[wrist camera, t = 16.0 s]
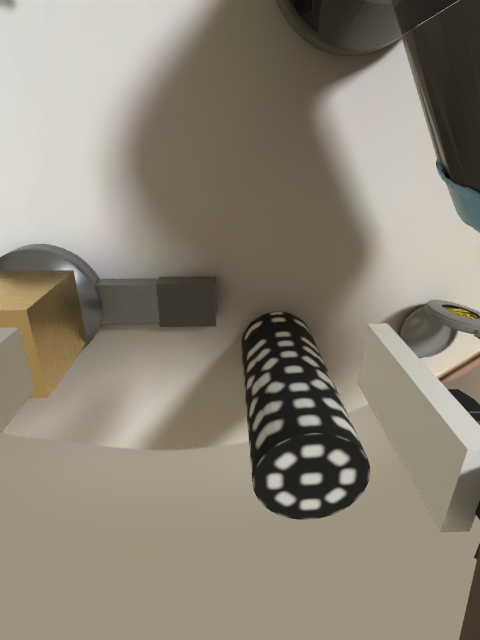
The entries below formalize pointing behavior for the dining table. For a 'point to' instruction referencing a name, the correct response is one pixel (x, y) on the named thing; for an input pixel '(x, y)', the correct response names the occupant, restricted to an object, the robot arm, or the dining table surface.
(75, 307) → the golden tan block
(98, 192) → the dining table surface
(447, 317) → the pocket watch
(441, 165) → the robot arm
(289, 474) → the white-spotted black cylinder
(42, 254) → the grey handled disc
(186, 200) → the dining table surface
